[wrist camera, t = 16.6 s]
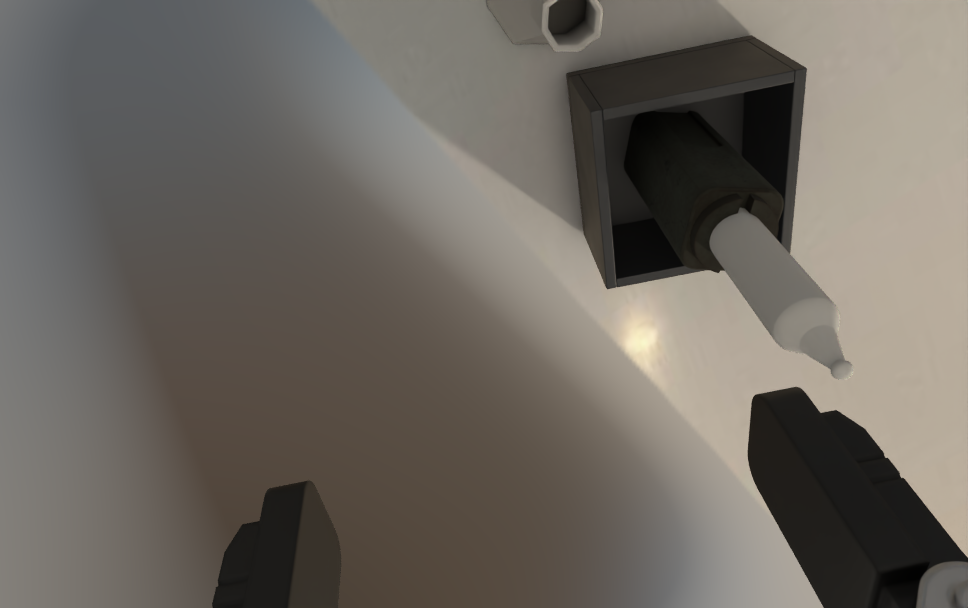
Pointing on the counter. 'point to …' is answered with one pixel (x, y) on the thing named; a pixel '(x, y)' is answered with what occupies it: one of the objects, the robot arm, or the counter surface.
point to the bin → (678, 89)
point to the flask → (550, 22)
